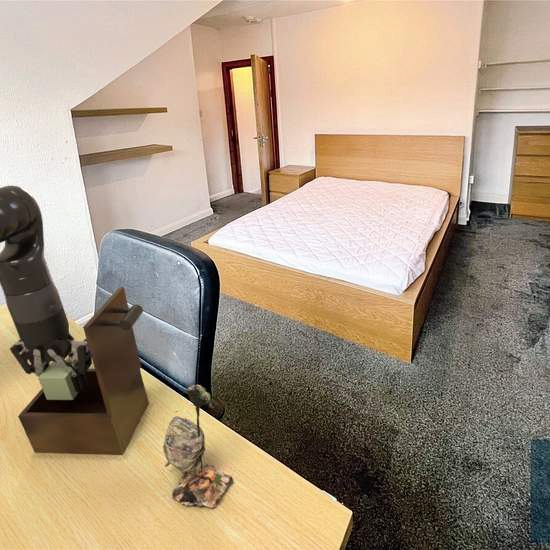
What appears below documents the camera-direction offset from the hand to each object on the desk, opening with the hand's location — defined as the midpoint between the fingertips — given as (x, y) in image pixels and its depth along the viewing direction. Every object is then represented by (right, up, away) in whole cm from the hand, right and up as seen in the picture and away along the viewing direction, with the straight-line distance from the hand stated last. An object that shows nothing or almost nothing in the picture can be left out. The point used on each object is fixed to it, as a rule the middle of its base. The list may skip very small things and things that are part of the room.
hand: (66, 388), depth 75 cm
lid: (+11, +8, -5) cm, 14 cm away
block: (0, 0, 0) cm, 0 cm away
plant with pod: (+26, -13, -9) cm, 30 cm away
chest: (+4, -8, +4) cm, 10 cm away
